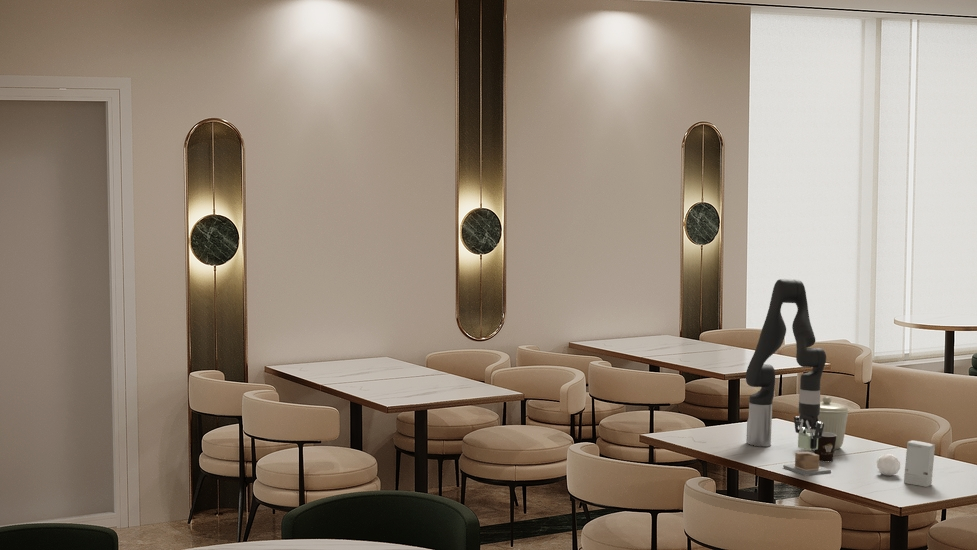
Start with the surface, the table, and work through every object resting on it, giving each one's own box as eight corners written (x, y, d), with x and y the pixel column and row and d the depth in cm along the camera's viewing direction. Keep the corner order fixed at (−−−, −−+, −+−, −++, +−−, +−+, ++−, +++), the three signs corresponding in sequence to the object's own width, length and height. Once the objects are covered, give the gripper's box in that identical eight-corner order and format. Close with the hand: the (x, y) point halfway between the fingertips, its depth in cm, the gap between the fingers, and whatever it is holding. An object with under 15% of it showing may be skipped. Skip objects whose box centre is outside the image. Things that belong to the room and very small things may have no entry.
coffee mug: (835, 458, 396) (836, 433, 395) (835, 463, 388) (836, 437, 387) (804, 455, 400) (805, 430, 399) (803, 460, 392) (804, 434, 391)
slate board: (783, 467, 379) (783, 464, 379) (808, 465, 384) (808, 462, 384) (805, 475, 368) (805, 472, 368) (830, 472, 373) (830, 469, 373)
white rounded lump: (878, 468, 367) (864, 464, 379) (896, 481, 367) (881, 477, 379) (890, 450, 367) (876, 447, 379) (908, 464, 368) (893, 460, 380)
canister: (857, 450, 410) (860, 399, 409) (821, 453, 404) (824, 401, 402) (827, 441, 427) (829, 391, 426) (792, 444, 420) (794, 393, 419)
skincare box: (903, 483, 360) (905, 442, 359) (909, 480, 365) (910, 439, 364) (928, 487, 355) (930, 445, 354) (933, 484, 359) (935, 443, 358)
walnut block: (794, 466, 378) (795, 452, 377) (807, 464, 380) (808, 451, 380) (805, 469, 372) (806, 456, 372) (818, 468, 374) (819, 455, 374)
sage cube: (797, 447, 377) (798, 433, 376) (808, 446, 379) (808, 433, 379) (807, 450, 372) (807, 436, 372) (817, 449, 374) (818, 435, 374)
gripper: (831, 404, 370) (829, 450, 370) (804, 397, 383) (802, 442, 384) (815, 405, 367) (813, 452, 367) (788, 398, 380) (786, 443, 381)
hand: (807, 446), depth 375 cm, fingers closed on sage cube, 5 cm apart
